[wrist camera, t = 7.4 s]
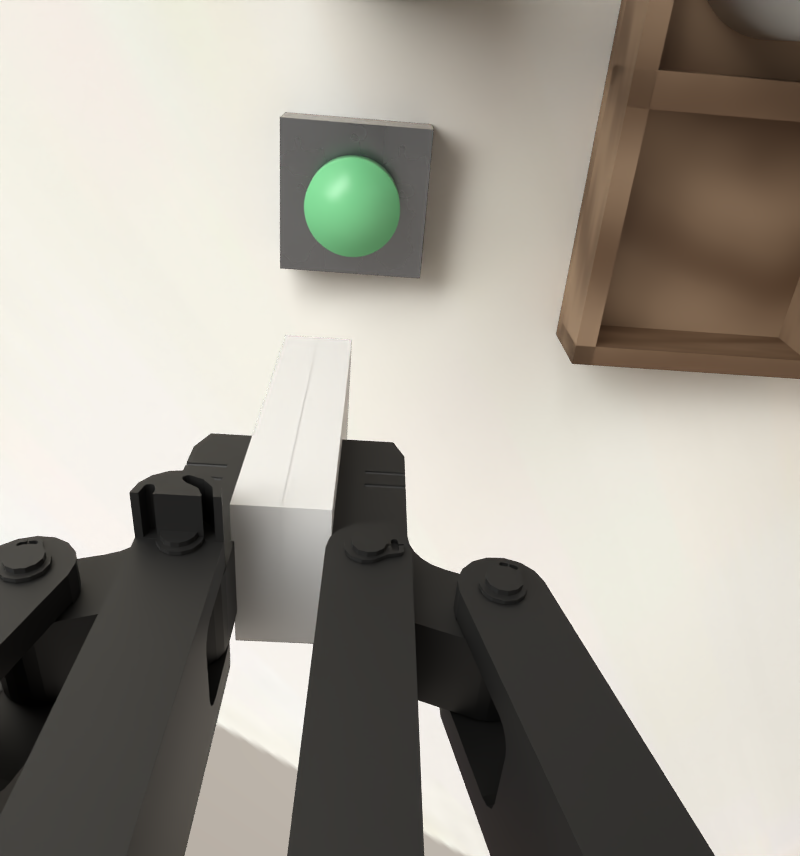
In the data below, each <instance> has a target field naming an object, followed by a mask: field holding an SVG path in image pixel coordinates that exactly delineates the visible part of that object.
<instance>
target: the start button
mask: <svg viewBox="0 0 800 856" xmlns="http://www.w3.org/2000/svg"><path fill="white" fill-rule="evenodd" d="M304 213H305V219H306V222H307V225H308V227H309V229H310V231H311V233H312V235H313V236H314V237H315V239H316V240H317V241H318V242H319V243H320V244H321V245H322V246H323V247H325V248H326V249H328V250H329V251H331V252H333V253H335V254H338V255H341V256H346V257H361V256H365V255H369V254H371V253H374V252H375V251H377V250H379V249H380V248H382V247H383V246H384V245H385V244H386V243H387V242H388V241H389V240H390V238H391V237H392V236H393V234H394V232H395V230H396V228H397V225H398V222H399V216H400V200H399V194H398V190H397V187H396V184H395V182H394V180H393V178H392V177H391V175H390V174H389V173H388V172H387V171H386V169H385V168H384V167H382V166H381V165H380V164H379V163H377V162H375V161H374V160H372V159H369V158H367V157H363V156H358V155H346V156H341V157H337V158H335V159H332V160H330V161H329V162H327V163H326V164H324V165H323V166H322V167H321V168H320V169H319V170H318V171H317V172H316V174H315V175H314V177H313V178H312V180H311V182H310V184H309V186H308V189H307V192H306V195H305V200H304Z"/></svg>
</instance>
